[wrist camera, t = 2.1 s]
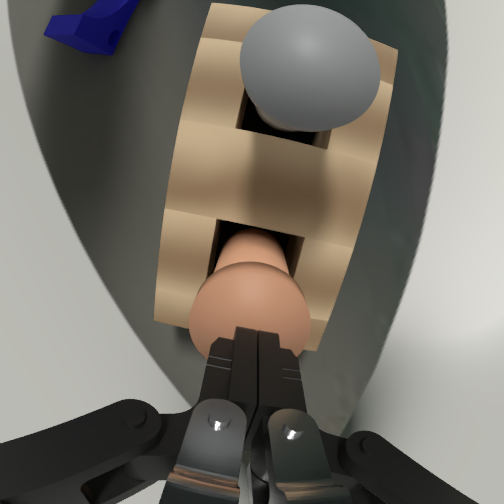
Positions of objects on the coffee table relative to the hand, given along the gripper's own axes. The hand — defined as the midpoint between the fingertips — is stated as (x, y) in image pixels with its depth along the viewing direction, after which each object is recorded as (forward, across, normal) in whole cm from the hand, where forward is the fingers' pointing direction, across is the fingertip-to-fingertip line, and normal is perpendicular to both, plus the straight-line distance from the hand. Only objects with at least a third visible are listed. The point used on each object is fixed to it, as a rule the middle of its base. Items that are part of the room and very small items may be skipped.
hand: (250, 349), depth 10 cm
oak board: (+12, 0, -5) cm, 13 cm away
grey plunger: (+9, 0, -10) cm, 13 cm away
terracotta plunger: (+9, 0, 0) cm, 9 cm away
